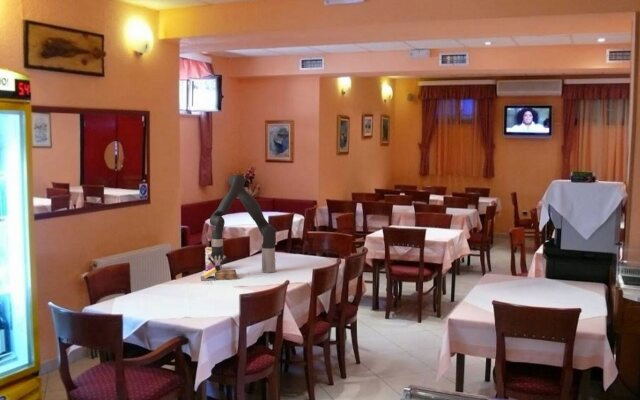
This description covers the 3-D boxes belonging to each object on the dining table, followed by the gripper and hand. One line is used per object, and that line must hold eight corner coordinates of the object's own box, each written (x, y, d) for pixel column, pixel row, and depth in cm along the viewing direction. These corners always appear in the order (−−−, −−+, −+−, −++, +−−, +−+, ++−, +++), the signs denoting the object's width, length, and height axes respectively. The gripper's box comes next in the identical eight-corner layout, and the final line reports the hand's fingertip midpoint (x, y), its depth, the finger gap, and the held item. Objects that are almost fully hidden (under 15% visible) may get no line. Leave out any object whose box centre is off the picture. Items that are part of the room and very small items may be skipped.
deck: (235, 275, 433) (235, 269, 433) (236, 279, 420) (236, 273, 420) (214, 276, 430) (214, 270, 430) (215, 280, 418) (215, 274, 417)
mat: (213, 276, 431) (213, 275, 431) (214, 280, 417) (214, 280, 417) (200, 276, 429) (200, 276, 429) (201, 281, 415) (201, 280, 415)
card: (216, 270, 428) (214, 267, 427) (216, 272, 422) (215, 269, 421) (204, 276, 426) (203, 273, 426) (205, 278, 421) (203, 275, 420)
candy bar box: (205, 270, 447) (204, 248, 446) (207, 269, 452) (206, 247, 451) (220, 271, 446) (220, 248, 445) (222, 269, 451) (221, 247, 450)
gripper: (226, 244, 427) (227, 269, 429) (207, 244, 424) (207, 269, 426) (227, 245, 420) (227, 271, 421) (207, 246, 417) (207, 272, 419)
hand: (217, 270), depth 424 cm, fingers closed
